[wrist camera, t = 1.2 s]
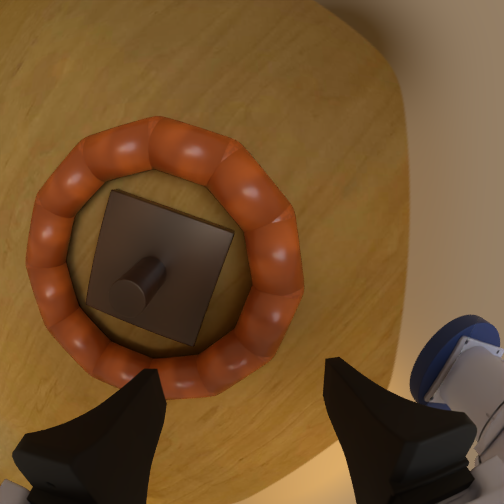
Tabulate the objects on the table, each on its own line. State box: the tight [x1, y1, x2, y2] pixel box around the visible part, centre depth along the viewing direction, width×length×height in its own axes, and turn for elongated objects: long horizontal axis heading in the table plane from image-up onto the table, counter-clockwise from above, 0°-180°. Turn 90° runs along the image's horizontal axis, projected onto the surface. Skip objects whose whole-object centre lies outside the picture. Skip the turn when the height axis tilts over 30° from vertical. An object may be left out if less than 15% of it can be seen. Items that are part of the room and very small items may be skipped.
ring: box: [26, 116, 304, 400], centre depth 18 cm, size 18×18×3 cm
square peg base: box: [86, 189, 234, 346], centre depth 16 cm, size 8×8×6 cm
